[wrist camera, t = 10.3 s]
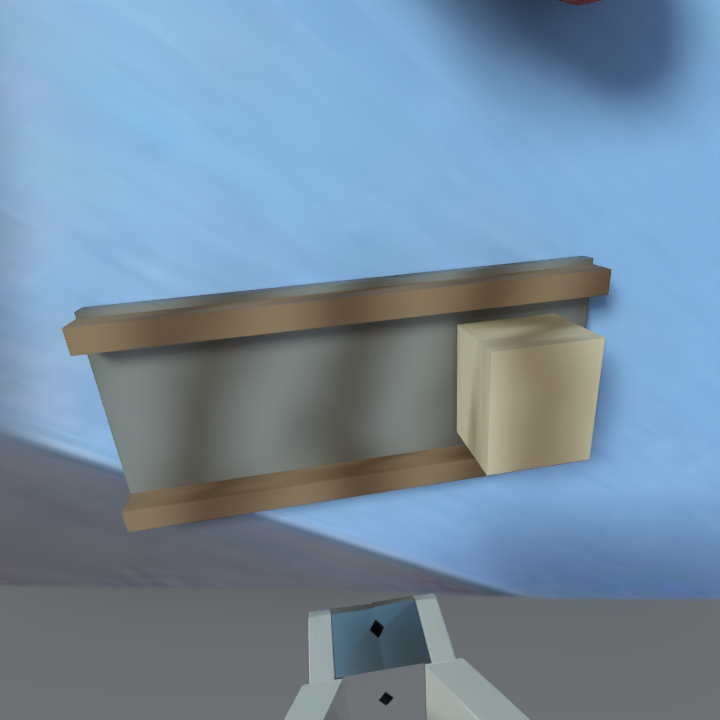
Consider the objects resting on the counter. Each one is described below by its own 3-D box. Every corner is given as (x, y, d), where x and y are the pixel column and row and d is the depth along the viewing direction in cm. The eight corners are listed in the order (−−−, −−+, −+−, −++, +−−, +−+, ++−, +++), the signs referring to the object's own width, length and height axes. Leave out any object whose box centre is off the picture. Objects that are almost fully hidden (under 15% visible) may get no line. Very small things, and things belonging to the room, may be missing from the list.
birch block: (553, 313, 23) (604, 338, 19) (544, 419, 25) (589, 459, 21) (457, 324, 22) (491, 352, 19) (456, 431, 25) (487, 475, 21)
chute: (583, 255, 23) (612, 262, 21) (564, 443, 27) (586, 464, 25) (81, 307, 20) (59, 321, 18) (142, 507, 25) (129, 536, 22)
